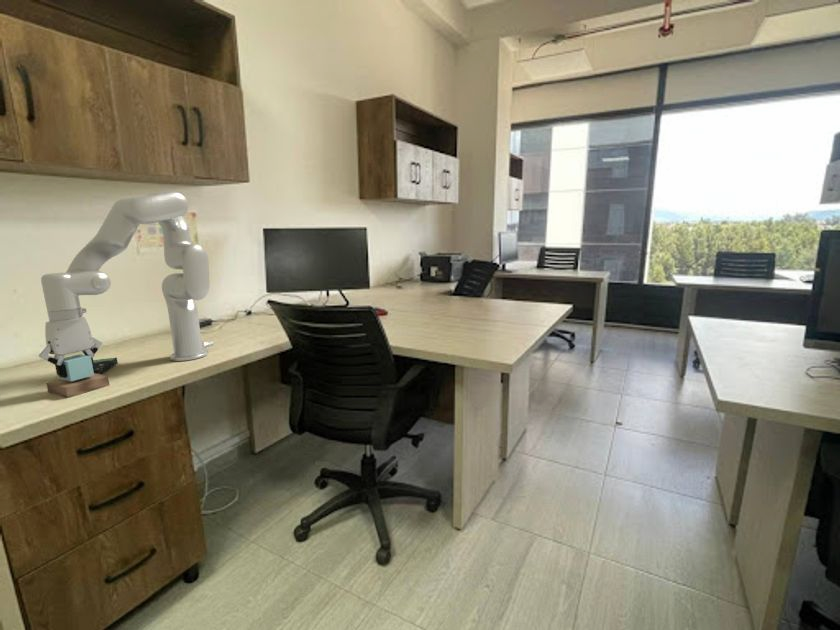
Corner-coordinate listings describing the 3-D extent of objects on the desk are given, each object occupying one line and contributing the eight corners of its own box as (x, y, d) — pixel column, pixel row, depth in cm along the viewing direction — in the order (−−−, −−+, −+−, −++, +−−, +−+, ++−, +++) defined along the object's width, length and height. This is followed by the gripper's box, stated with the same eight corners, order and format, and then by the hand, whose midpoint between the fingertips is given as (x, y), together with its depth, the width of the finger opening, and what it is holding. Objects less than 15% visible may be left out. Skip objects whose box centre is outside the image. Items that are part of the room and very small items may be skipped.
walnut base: (90, 380, 133) (88, 371, 133) (109, 385, 129) (108, 376, 128) (48, 392, 124) (46, 382, 123) (67, 398, 119) (65, 388, 118)
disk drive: (101, 377, 138) (118, 364, 152) (99, 369, 137) (117, 356, 151) (63, 381, 135) (85, 367, 149) (62, 373, 134) (83, 359, 148)
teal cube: (83, 372, 130) (79, 354, 128) (94, 375, 127) (90, 356, 126) (60, 378, 124) (56, 359, 123) (71, 381, 122) (67, 361, 120)
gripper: (91, 309, 131) (101, 363, 135) (21, 320, 116) (34, 381, 119) (105, 310, 128) (115, 366, 131) (34, 322, 113) (48, 384, 116)
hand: (76, 372), depth 125 cm, fingers open, 6 cm apart
